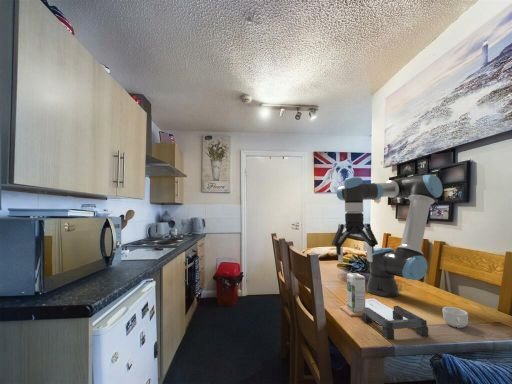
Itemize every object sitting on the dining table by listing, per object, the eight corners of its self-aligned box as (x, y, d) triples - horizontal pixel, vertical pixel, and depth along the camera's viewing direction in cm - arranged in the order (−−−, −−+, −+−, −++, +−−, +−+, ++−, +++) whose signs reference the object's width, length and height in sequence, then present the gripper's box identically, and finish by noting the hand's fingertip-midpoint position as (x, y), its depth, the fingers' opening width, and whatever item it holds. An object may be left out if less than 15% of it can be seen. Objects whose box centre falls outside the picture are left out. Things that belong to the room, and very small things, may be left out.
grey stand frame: (398, 318, 101) (398, 305, 102) (428, 336, 87) (427, 321, 88) (362, 320, 99) (362, 307, 99) (387, 339, 85) (386, 323, 85)
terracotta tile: (360, 306, 113) (360, 305, 113) (373, 315, 104) (373, 313, 104) (339, 308, 112) (339, 306, 112) (350, 316, 103) (350, 314, 103)
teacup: (441, 319, 101) (440, 305, 101) (465, 323, 98) (464, 308, 98) (446, 329, 92) (445, 314, 93) (473, 334, 89) (472, 318, 89)
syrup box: (346, 307, 111) (345, 273, 112) (359, 306, 111) (358, 273, 112) (352, 312, 105) (352, 276, 106) (366, 311, 106) (365, 276, 107)
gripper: (374, 212, 117) (376, 259, 115) (323, 212, 113) (324, 261, 111) (385, 212, 109) (387, 262, 108) (331, 212, 105) (332, 264, 104)
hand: (355, 262), depth 110 cm, fingers open, 13 cm apart
